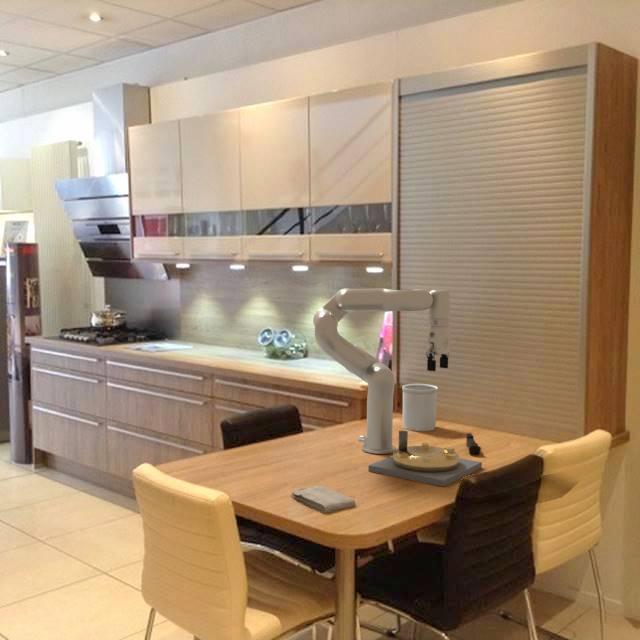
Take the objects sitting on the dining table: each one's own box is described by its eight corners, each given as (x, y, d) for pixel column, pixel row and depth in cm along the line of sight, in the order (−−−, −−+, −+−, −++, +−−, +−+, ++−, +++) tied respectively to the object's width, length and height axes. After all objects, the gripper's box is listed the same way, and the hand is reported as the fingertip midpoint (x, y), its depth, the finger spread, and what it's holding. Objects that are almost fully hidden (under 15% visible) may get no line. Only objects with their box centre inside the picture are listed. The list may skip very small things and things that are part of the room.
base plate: (368, 471, 258) (368, 464, 258) (410, 454, 280) (410, 448, 280) (443, 486, 241) (443, 479, 241) (481, 467, 264) (481, 461, 264)
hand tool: (480, 456, 280) (480, 444, 279) (469, 456, 280) (469, 443, 280) (475, 444, 298) (475, 432, 298) (464, 443, 299) (465, 431, 299)
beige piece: (469, 461, 263) (470, 434, 262) (439, 475, 245) (440, 446, 244) (413, 451, 276) (413, 425, 275) (380, 464, 258) (381, 436, 257)
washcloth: (319, 491, 236) (319, 482, 236) (357, 507, 222) (357, 497, 222) (287, 498, 229) (288, 488, 228) (325, 515, 215) (325, 504, 214)
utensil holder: (439, 432, 317) (440, 389, 316) (403, 431, 317) (404, 389, 315) (433, 424, 332) (434, 383, 330) (399, 423, 332) (400, 383, 330)
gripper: (437, 325, 274) (435, 373, 276) (458, 322, 288) (457, 367, 290) (418, 324, 279) (417, 370, 280) (440, 321, 293) (439, 365, 294)
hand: (437, 369), depth 285 cm, fingers open, 9 cm apart
